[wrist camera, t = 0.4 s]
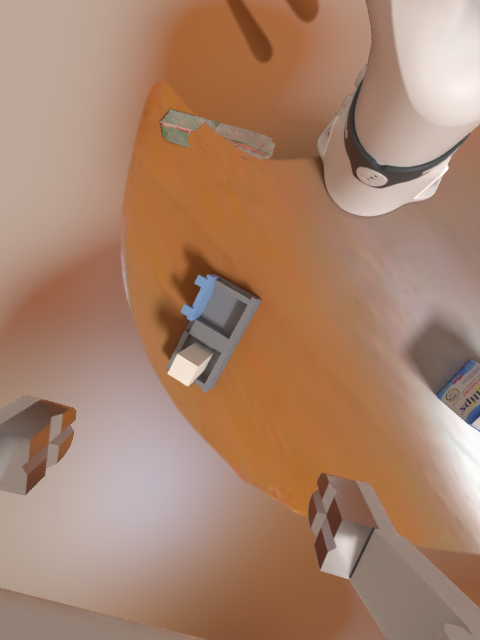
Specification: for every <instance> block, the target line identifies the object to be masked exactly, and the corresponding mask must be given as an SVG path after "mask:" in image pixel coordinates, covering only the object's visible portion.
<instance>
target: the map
mask: <svg viewBox="0 0 480 640" xmlns="http://www.w3.org/2000/svg"><path fill="white" fill-rule="evenodd" d="M160 123H161V126H162V136H164V139H165V140H167V141H169V142H172V143H175V144H178V145H182V146H185V147H188V148H189V144H188V141H187V137H188V135H189V136H190V133H192V132H191V131H194V130H195V129H197V128H198V127H200V126H201V124H202V123H205V124H207V126H209V127H210V128H211V129H213V130H214V131H215V132H217V133H218V134H219V135H221V136H222V137H224V138H225V139H226V140H228V141H229V142H231V143H232V144H233V145H235V146H236V147H238V148H239V149H240V150H242V151H244V152H245V153H248V154H249V155H252V156H255V157H257V158H260V159H266V160H268V159H270V158H271V156H272V154H273V149H274V147H275V145H276V144H274V143H273V142H272V138H270V137H268V136H264V135H262V134H259V133H256V132H253V131H251V130H246V129H243V128H238V127H235V126H231V125H227V124H224V123H220V122H216V121H212V120H208V119H205V118H201V117H197V116H193V115H189V114H186V113H182V112H178V111H175V110H172V109H170V110H169V113H168V115H167V114H166V116H165V118H163V121H162V120H161V121H160ZM200 128H201V127H200ZM197 132H198V131H197ZM207 145H208V144H207ZM244 159H245V157H244ZM245 160H246V159H245Z"/></svg>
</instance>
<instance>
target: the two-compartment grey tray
mask: <svg viewBox="0 0 480 640" xmlns="http://www.w3.org/2000/svg"><path fill="white" fill-rule="evenodd" d="M194 284H196V285H198V286H200V287H201V289H200V291H199V293H198V295H197V297H196V299H195V301H194V303H193V306H192V307H191V306H190V305H188V304H184V306H183V308H182V310H181V313H183V314H184V315H186V316H187V319H188V320H190V321H189V323H188V325H187V327H186V329H185V331H184V332H183V334H182V336H181V338H180V340H179V342H178V344H177V346H176V349H175V351H174V353H173V355H172V357H171V359H170V361H169V363H168V365H167V367H166V368H167V369H168V370H170V368H171V366H172V364H173V362H174V359H175V357H176V355H177V354H178V353H179V352H181V351H183V350H184V349H186V348H187V347H189V346H191V345H192V344H194V343H195V342H197V343H199V344H201V345H202V346H204V347H206V348H207V349H209V350H211V351H212V352H214V354H213V356H212V358H211V359H210V361H209V363H208V365H207V367H206V369H205V370H204V371H203V372H202V373H201V374H200V375H199V376H198V377H197V378H196V379H195V380H194V381H193V383H195V384H196V385H198V386H200V387H201V388H202V390H201V391H203V392H205V393H206V392H207V391H208V390H209V389H211V390H212V389H213V387H214V385H215V384H216V382H217V380H218V378H219V376H220V375H221V373H222V371H223V369H224V367H225V366H226V364H227V362H228V360H229V358H230V357H231V355H232V353H233V351H234V349H235V348H236V346H237V344H238V342H239V340H240V339H241V337H242V335H243V333H244V331H245V330H246V328H247V326H248V324H249V322H250V321H251V319H252V317H253V315H254V313H255V312H256V310H257V308H258V306H259V304H260V303H261V301H262V300H261V299H259V298H258V297H256V296H254V295H252V294H250V293H249V292H247V291H245V290H243V289H242V288H240V287H238V286H236V285H234V284H233V283H231V282H229V281H227V280H226V279H224V278H222V277H220V276H219V275H217V274H215V273H213V274H207V276H206V278H205V277H203V276H201V275H198V276H197V279H196V281H195V283H194Z"/></svg>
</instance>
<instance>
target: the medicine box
mask: <svg viewBox="0 0 480 640" xmlns="http://www.w3.org/2000/svg"><path fill="white" fill-rule="evenodd" d="M437 398H439V399H440V400H441V401H442V402H443V403H444V404H445V405H447V406H448V407H449V408H450V409H451V410H452V411H453V412H455V413H456V414H457V415H458V416H459V417H460V418H462V419H463V420H464V421H465V422H466V423H467V424H469V425H470V426H472V427H473V428H475V429H476V430H478V431H479V432H480V363H478V362H475V361H473V360H470V361H468V362H467V363H466V365H465V366H464V367H463V368H462V369H461V370H460V371H459V372H458V373H457V374H456V375H455V377H454V378H453V379H452V380H451V381H450V382H449V383H448V384H447V385H446V386H445V387H444V388H443V389H442V390H441V391H440V392H439V393H438V395H437Z"/></svg>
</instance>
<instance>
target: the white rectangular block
mask: <svg viewBox="0 0 480 640" xmlns="http://www.w3.org/2000/svg"><path fill="white" fill-rule="evenodd" d="M213 354H214V352H212V351H211V350H209V349H207V348H206V347H204V346H202V345H201V344H199V343H197V342H195V343H194V344H192V345H191V346H189V347H187V348H186V349H184V350H183V351H181V352H179V353H178V354H177V355H176V357H175V359H174V362H173V364H172V366H171V368H170V370H169V372H168V374H169V375H170V376H172V377H173V378H175V379H177V380H178V381H180V382H181V383H183V384H185V385H186V386H189V385H190V384H191V383H192V382H193V381H194V380H195V379H196V378H197V377H198V376H199V375H200V374H201V373H202V372H203V371H204V370H205V369H206V367H207V365H208V363H209V361H210V359H211V358H212V356H213Z"/></svg>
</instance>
